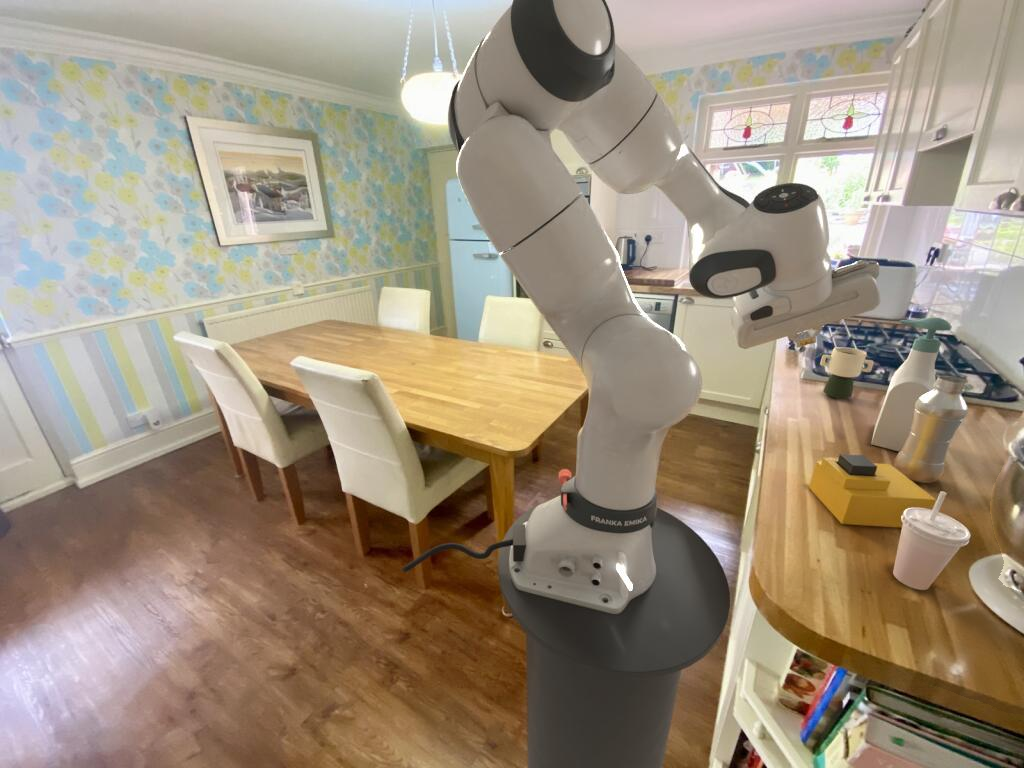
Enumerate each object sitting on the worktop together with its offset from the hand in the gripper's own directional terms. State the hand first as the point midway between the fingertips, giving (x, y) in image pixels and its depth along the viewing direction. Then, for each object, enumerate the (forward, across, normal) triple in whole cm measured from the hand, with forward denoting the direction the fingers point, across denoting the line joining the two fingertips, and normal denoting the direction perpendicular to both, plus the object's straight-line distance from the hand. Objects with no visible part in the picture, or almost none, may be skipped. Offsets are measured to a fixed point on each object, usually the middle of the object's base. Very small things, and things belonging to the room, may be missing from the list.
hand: (804, 342), depth 73 cm
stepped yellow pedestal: (+21, 0, +21) cm, 30 cm away
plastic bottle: (+32, -11, +13) cm, 36 cm away
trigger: (+14, 0, +18) cm, 23 cm away
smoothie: (+13, 0, +36) cm, 38 cm away
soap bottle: (+40, -12, -1) cm, 42 cm away
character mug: (+51, -11, -22) cm, 57 cm away
